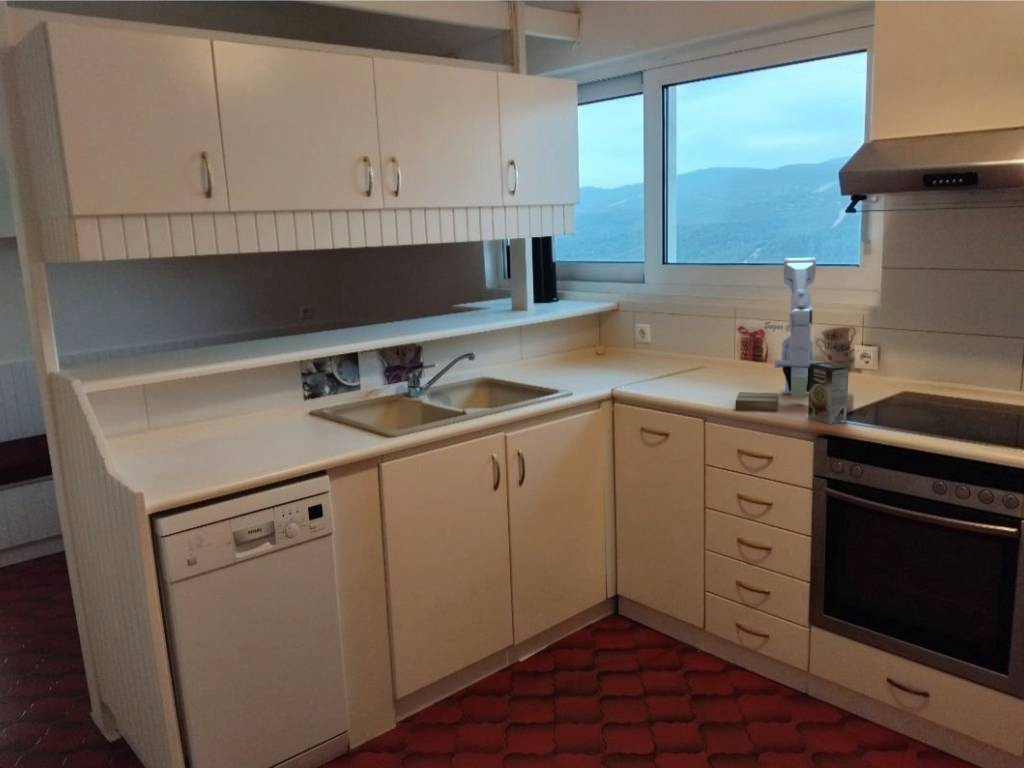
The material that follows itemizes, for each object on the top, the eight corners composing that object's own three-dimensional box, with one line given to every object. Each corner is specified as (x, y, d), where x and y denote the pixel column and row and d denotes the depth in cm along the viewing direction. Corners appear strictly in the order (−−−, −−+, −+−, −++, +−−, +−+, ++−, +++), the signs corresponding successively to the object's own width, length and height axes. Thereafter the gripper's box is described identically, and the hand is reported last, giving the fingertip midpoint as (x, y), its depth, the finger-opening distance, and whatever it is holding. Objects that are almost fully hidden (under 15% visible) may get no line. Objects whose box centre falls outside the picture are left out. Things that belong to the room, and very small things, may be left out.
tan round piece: (835, 408, 247) (835, 392, 246) (852, 408, 245) (853, 392, 244) (835, 412, 242) (836, 395, 241) (853, 412, 241) (854, 396, 240)
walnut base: (738, 401, 261) (739, 392, 260) (778, 402, 257) (778, 393, 256) (735, 409, 250) (735, 400, 249) (776, 411, 246) (776, 401, 245)
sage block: (791, 394, 256) (791, 375, 255) (806, 394, 255) (807, 375, 253) (790, 397, 252) (791, 378, 251) (806, 397, 250) (807, 378, 249)
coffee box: (806, 418, 237) (808, 363, 233) (824, 415, 239) (826, 361, 236) (829, 424, 228) (831, 368, 225) (847, 422, 230) (849, 365, 227)
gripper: (774, 349, 249) (773, 392, 252) (825, 350, 244) (824, 394, 247) (775, 345, 256) (774, 388, 258) (825, 346, 251) (823, 389, 253)
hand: (798, 390), depth 253 cm, fingers closed on sage block, 4 cm apart
